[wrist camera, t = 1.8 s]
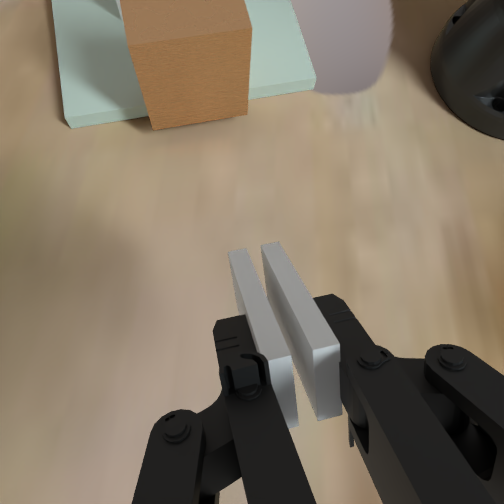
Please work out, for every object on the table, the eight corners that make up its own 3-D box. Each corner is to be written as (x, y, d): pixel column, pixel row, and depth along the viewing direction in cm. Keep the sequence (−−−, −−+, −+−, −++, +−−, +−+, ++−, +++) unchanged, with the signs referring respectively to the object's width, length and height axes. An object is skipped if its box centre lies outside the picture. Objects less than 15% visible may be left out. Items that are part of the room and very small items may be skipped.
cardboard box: (216, -4, 39) (211, -112, 31) (247, 114, 36) (252, 27, 27) (130, 8, 38) (101, -101, 30) (153, 130, 35) (127, 45, 26)
